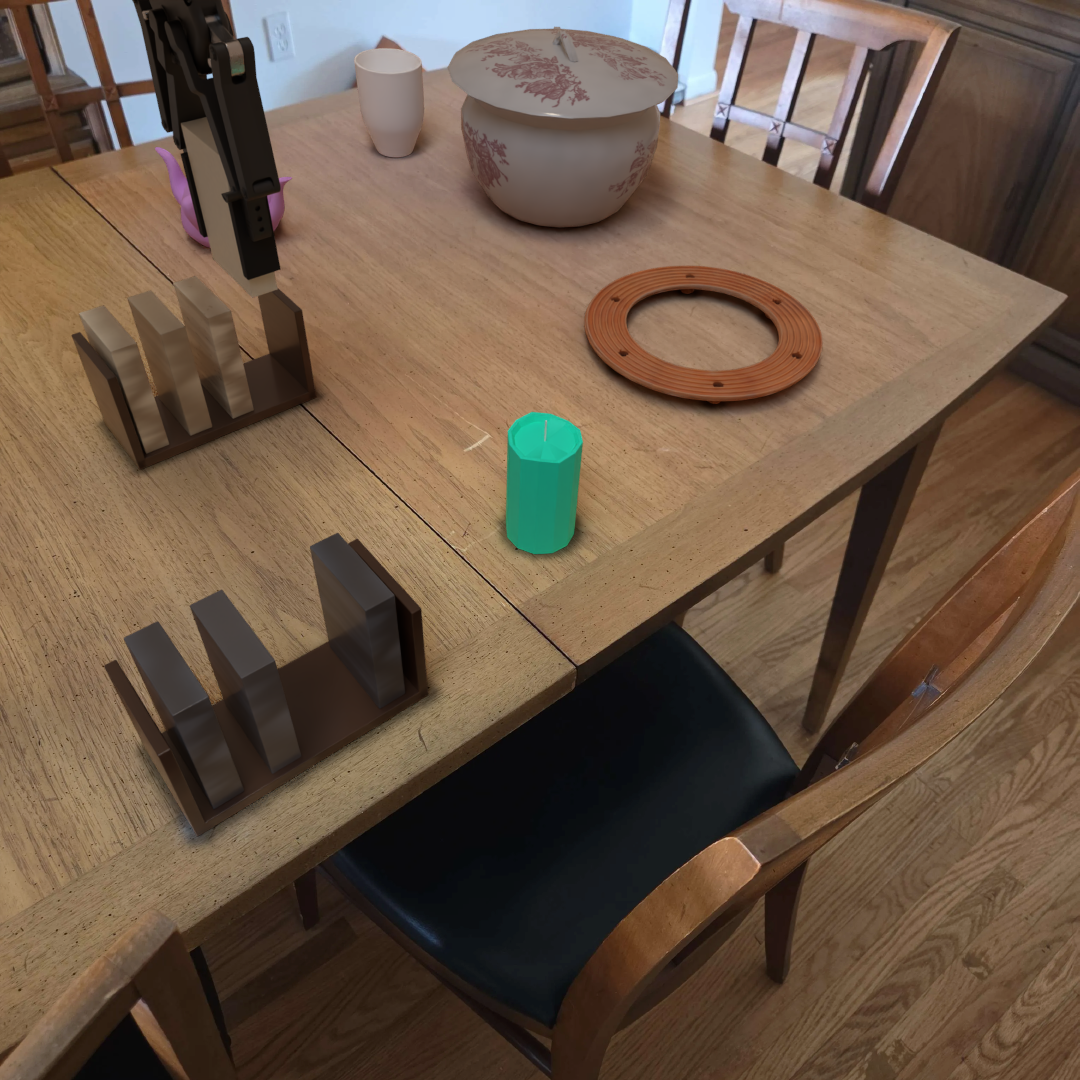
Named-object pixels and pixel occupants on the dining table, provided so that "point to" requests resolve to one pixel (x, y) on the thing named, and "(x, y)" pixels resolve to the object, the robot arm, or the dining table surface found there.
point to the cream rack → (191, 370)
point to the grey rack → (275, 687)
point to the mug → (391, 98)
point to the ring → (757, 380)
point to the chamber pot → (560, 120)
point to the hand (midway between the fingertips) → (239, 250)
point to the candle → (542, 482)
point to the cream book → (218, 206)
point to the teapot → (187, 209)
